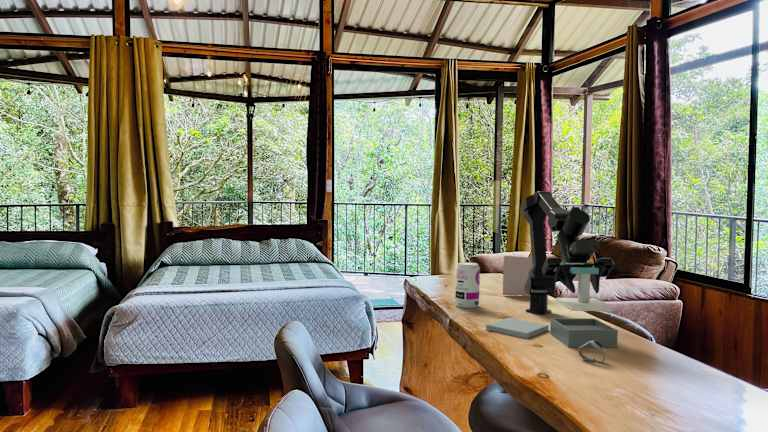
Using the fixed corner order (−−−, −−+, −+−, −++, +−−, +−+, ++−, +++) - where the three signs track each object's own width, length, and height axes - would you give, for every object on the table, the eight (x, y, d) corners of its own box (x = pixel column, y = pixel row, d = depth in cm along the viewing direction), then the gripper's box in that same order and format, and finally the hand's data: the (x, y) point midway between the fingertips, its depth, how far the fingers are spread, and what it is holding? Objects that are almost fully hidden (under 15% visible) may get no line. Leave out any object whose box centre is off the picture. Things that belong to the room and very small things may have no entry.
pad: (508, 322, 165) (508, 317, 165) (548, 330, 156) (548, 325, 156) (485, 329, 155) (486, 324, 155) (526, 338, 146) (526, 333, 146)
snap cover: (555, 302, 150) (557, 264, 150) (594, 302, 151) (595, 265, 150) (571, 310, 139) (572, 270, 139) (612, 310, 140) (614, 271, 139)
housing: (550, 334, 152) (550, 318, 151) (594, 334, 152) (595, 318, 152) (568, 347, 139) (568, 330, 138) (617, 347, 139) (617, 330, 139)
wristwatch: (604, 365, 125) (604, 344, 124) (576, 360, 128) (577, 340, 128) (606, 361, 128) (607, 340, 127) (579, 357, 131) (580, 336, 131)
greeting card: (532, 295, 208) (533, 257, 208) (526, 298, 202) (527, 259, 201) (504, 292, 214) (505, 255, 214) (497, 295, 208) (498, 257, 208)
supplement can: (480, 304, 190) (481, 262, 190) (476, 309, 182) (477, 265, 182) (457, 302, 193) (458, 261, 192) (453, 307, 185) (454, 264, 184)
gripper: (546, 228, 148) (560, 274, 137) (612, 229, 149) (631, 275, 138) (536, 253, 156) (548, 298, 145) (598, 254, 157) (615, 299, 146)
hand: (585, 292), depth 144 cm, fingers closed on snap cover, 6 cm apart
